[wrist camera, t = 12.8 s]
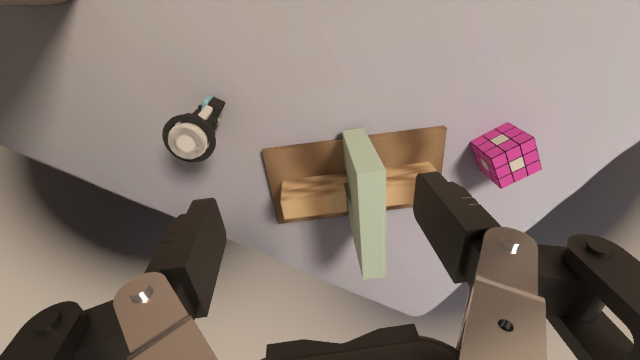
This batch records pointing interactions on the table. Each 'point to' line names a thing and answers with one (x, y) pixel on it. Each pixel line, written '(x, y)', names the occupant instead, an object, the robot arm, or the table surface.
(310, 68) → the table surface
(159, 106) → the table surface
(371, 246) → the sage slotted plate
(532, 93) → the table surface
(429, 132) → the oak slotted rail
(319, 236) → the table surface
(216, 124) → the push button
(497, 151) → the puzzle toy
